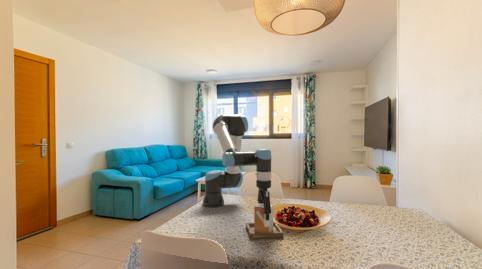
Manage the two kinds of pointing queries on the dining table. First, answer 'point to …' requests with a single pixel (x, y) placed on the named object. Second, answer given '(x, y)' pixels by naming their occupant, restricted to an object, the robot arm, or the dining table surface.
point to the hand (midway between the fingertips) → (263, 221)
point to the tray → (256, 235)
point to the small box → (262, 219)
